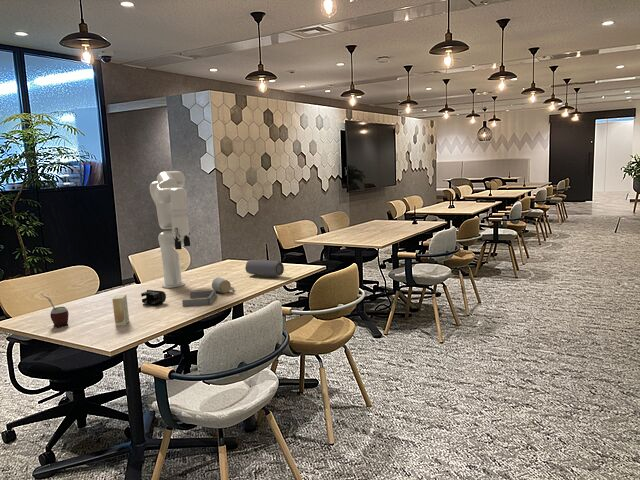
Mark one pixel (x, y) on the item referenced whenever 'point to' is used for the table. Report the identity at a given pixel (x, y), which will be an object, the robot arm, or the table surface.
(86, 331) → the table surface
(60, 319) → the mate gourd
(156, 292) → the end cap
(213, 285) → the ceramic mug
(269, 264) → the bluetooth speaker
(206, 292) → the tray
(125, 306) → the skincare box
